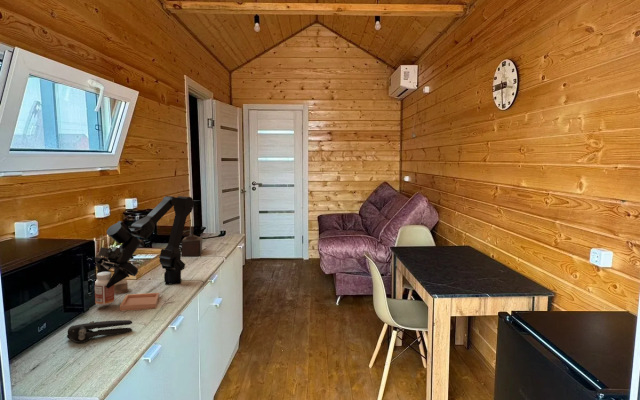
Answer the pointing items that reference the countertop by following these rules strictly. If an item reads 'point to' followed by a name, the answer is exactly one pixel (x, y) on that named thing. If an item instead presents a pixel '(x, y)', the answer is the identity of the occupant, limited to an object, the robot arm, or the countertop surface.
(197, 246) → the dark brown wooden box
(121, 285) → the walnut block
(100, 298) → the pill bottle
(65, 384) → the countertop surface
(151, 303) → the tray
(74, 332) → the can opener
